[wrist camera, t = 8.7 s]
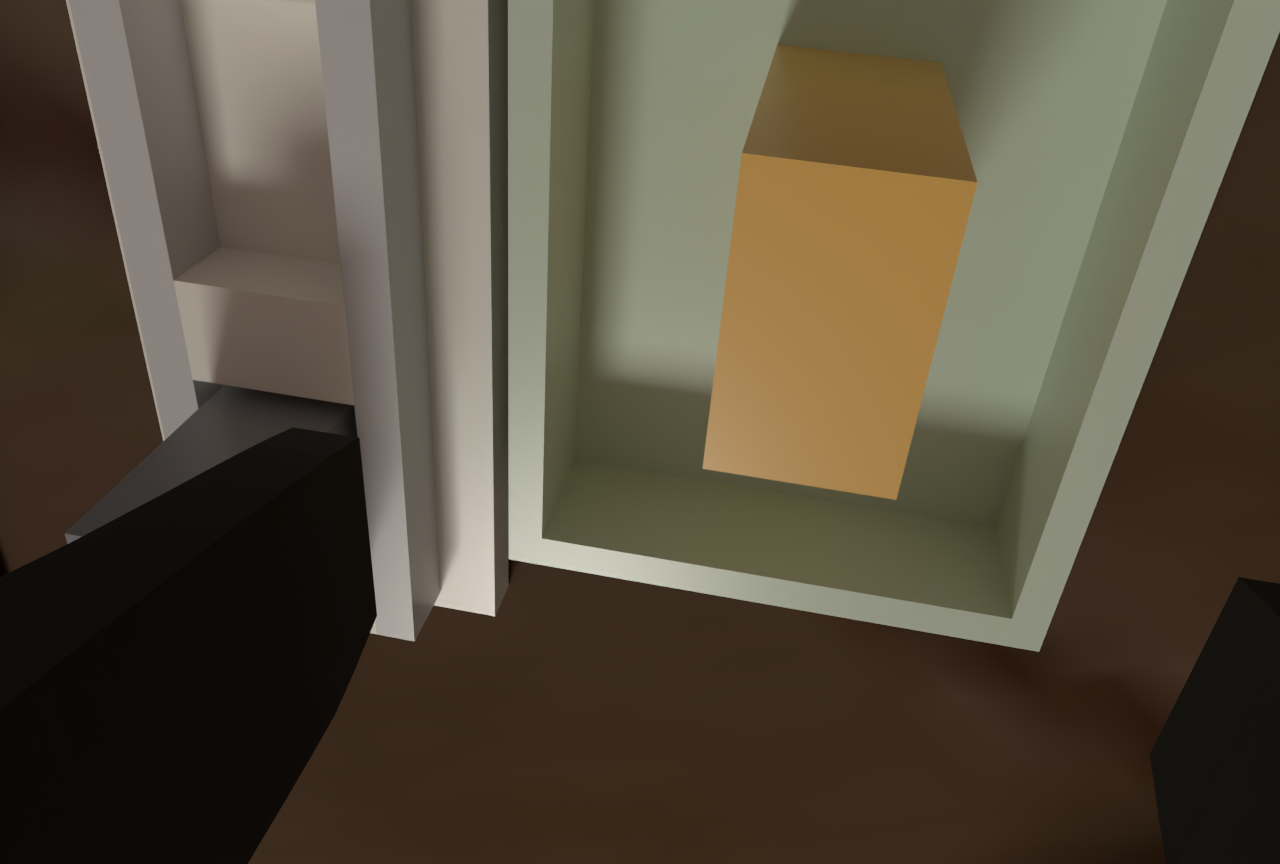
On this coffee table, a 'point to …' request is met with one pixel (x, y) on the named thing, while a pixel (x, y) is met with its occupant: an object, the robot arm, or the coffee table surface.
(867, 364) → the block
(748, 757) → the coffee table surface
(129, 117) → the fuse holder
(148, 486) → the block
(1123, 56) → the tray
